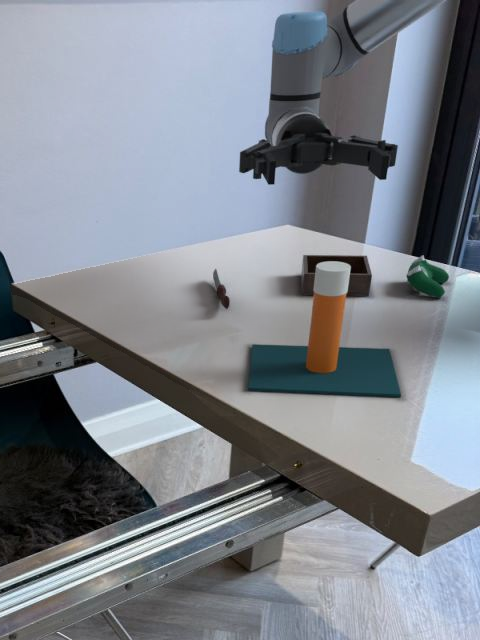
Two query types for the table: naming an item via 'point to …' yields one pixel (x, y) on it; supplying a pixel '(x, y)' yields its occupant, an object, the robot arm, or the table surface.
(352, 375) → the mat
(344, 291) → the glue stick
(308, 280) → the box
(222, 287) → the knife
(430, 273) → the gaming controller
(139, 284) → the table surface
